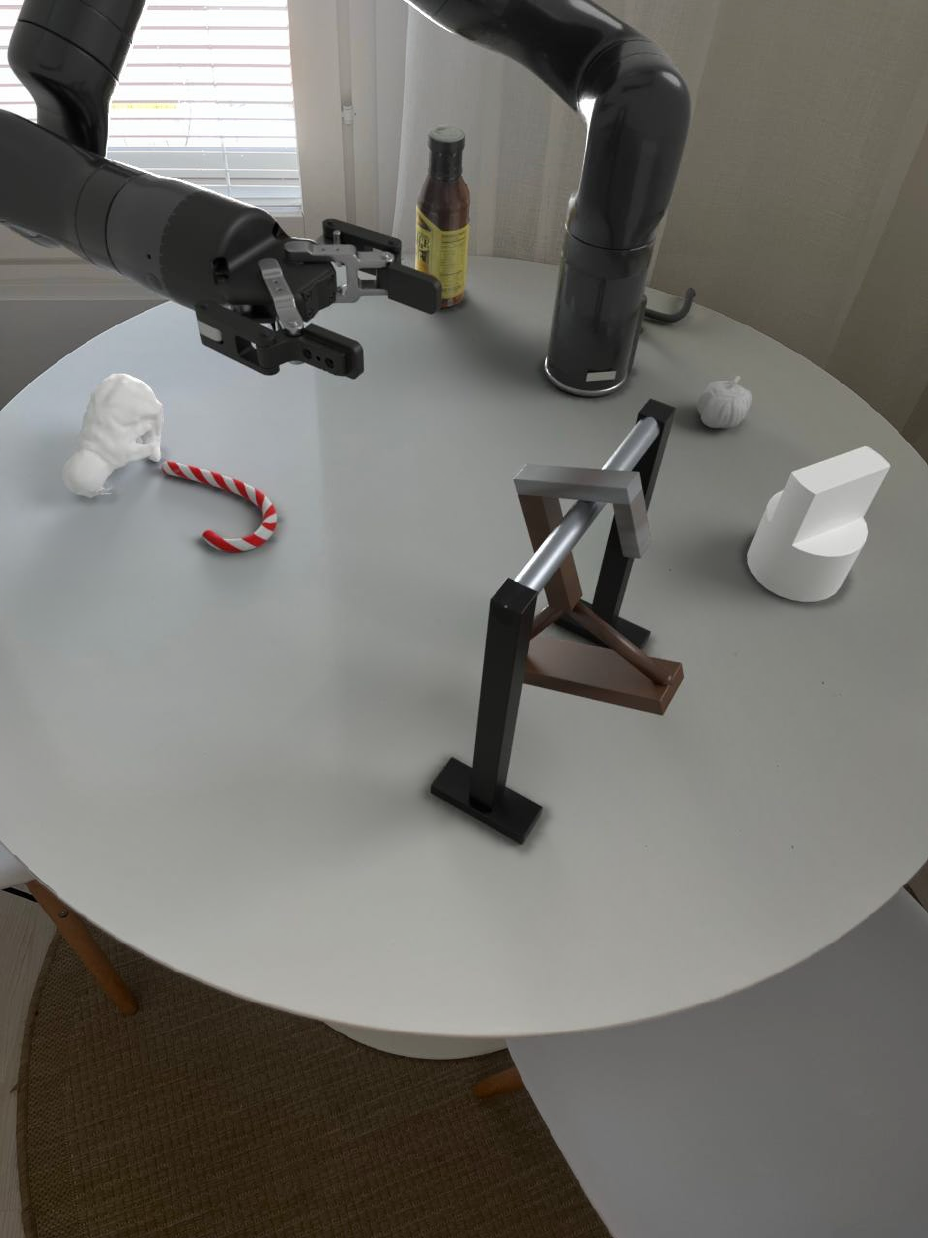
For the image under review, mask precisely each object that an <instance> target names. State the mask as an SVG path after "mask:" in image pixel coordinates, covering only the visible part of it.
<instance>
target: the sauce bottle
mask: <svg viewBox="0 0 928 1238" xmlns="http://www.w3.org/2000/svg"><path fill="white" fill-rule="evenodd" d="M426 142H427V144H426V145H427V148H428V166H427V171H426V173H425V177H424V178H423V179H424V180H423V182H422V185H421V187H420V189H419V190H420V191H419V192H418V193H419V194H418V196H417V199H416V204H415V205H416V207H415V248H414V249H415V261H414V262H415V266H414V267H415V268H414V269H416V270H418V271H420V272H424V273H425V274H429V275H432V276H434V277H435V278H437V279H438V280H439V281H440V282H441V285H442V302H441V308H450V307H454V306H456V305H458V304H460V303H461V302H462V300H463V297H464V295H465V290H466V283H467V268H468V267H467V265H468V253H469V252H468V251H469V236H470V220H471V218H470V207H471V194H470V190H469V186H468V184H467V183H466V182H465V180H464V178H463V175H462V174H463V153H464V149H465V148H466V147H465V146H466V134H465V132H464V130H463V129H462V128H461V127H457V126H455V125H451V124H440V125H436V126H433V127H432V128H431V129H429V130H428V132H427V141H426Z"/></svg>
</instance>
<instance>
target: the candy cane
mask: <svg viewBox="0 0 928 1238" xmlns="http://www.w3.org/2000/svg"><path fill="white" fill-rule="evenodd" d="M161 472H162V473H163V474H165V475H169V476H173V477H178V478H182V479H186V480H191V481H195V482H198V483H202V484H205V485H208V486H213V487H216V488H219V489H222V490H224V491H227V492H230V493H233V494H236V495H238V496H240V497H243V498H244V499H247V500H248V501H249V502H251V503H252V504H254V505H255V506H257V507H258V509H259V510H260V511H261V513H262V522H261V524H260V526H259V527H258V529H256V530H255V531H254V532H253V533H251V534H249V535H247V536H243V537H239V538H224V537H221V536H219V535H218V534H216V533H215V532H214V531H213V530H212V529H206V530H204V531H203V533H202V536H201V537H202V539H203V540H204V541H205V542H206V543H207V544H208V545H209V546H211V547H212V548H214V549H216V550H218V551H222V552H225V553H226V552H228V553H240V552H247V551H251V550H254V549H257V548H258V547H260V546H261V545H264V543H265V542H266V541H268V540H269V539H270V538H271V536H272V535H273V533H274V532H275V530H276V527H277V522H278V516H277V515H278V513H277V510H276V508H275V505H274V504H273V502H272V501H271V500H270V499H269V497H268V496H267V495H265V494H264V493H262V492H261V491H260V490H259V489H257V488H255V487H253V486H252V485H250V484H248V483H246V482H243V481H241V480H238V479H235V478H233V477H230V476H228V475H227V476H226V475H223V474H220V473H217V472H214V471H212V470H207V469H203V468H200V467H197V466H192V465H188V464H183V463H180V462H174V461H168V460H166V461H163V462H162V464H161Z"/></svg>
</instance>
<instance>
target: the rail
mask: <svg viewBox="0 0 928 1238" xmlns="http://www.w3.org/2000/svg"><path fill="white" fill-rule="evenodd" d="M676 411H677V407H674V406H672V405H669V404H666V403H664V402H661V401H659V400H656V399H653V398H649V399H647V401H646V403H644V404H643V406H642V407H641V408H640V410H639V411H638V413H637V418H636V421H635V423H634V426H633V428H632V429H631V431H630V432H629V433H628V434H627V436H626V437H625V438H624V439H623V441H622V442H621V444H619V446H618V447H617V449H615V450H614V452H613V454H612V455H611V456H610V457H609V459H608V460H607V461H606V463H605V464H604V465H603V466H602V468H601V469H605V470H619V471H633V472H639V473H640V479H641V484H642V489H643V495H644V500H645V506H646V511H647V513H648V512H649V508H650V504H651V502H652V497H653V494H654V490H655V488H656V483H657V480H658V476H659V473H660V468H661V465H662V462H663V459H664V455H665V450H666V447H667V444H668V440H669V437H670V433H671V429H672V426H673V422H674V420H675V415H676ZM607 504H608V503H604V502H593V501H583V500H575V502H574V503H573V504H572V506H570V509H569V510H568V511H567V512H566V514H565V515H563V519H562V520H561V521H560V522H559V524H558V525H557V526H556V528H555V529H554V530H553V531H552V533H551V534H550V535H549V536H548V538H547V539H546V540H545V542H544V543H543V544H542V545H541V547H540V548H539V549H538V550H537V552H536V553H535V554H534V553H533V555H532V557H531V558H530V559H529V561H528V562H527V563H526V564H525V565H524V566H523V568H522V570H521V571H519V573H518V574H517V576H516V577H515V578H514V579H512V578H510V577H506V578H505V580H504V581H503V582H502V584H501V585H500V586H499V587H498V589H496V591H495V593H494V594H493V595H492V596H491V597H490V599H489V607H488V617H487V627H486V634H485V643H484V644H485V646H484V656H483V662H482V663H483V664H482V672H481V673H482V674H481V681H480V682H481V683H480V690H479V691H480V692H479V702H478V708H477V709H478V710H477V719H476V728H475V737H474V747H473V756H472V766H469V764H468V765H467V764H465V763H464V762H463V761H460V760H458V759H457V758H455V757H454V756H450V758H449V759H448V760H447V762H446V763H445V764H444V766H443V767H442V768H441V770H440V772H439V773H438V774H437V776H436V777H435V779H433V781H432V783H431V784H430V794H432V795H433V796H435V797H437V798H439V799H440V800H441V801H444V802H445V803H448V804H449V805H450V806H453V807H455V808H456V809H458V810H460V811H461V812H463V813H465V814H467V815H469V816H470V817H472V818H474V819H476V820H478V821H479V822H480V823H482V824H484V825H486V826H488V827H490V828H491V829H493V830H495V831H497V832H498V833H500V834H502V835H504V836H505V837H507V838H509V839H510V840H513V841H514V842H516V843H518V844H520V845H522V846H523V845H524V844H525V842H526V841H527V838H529V835H530V834H531V832H532V831H533V829H534V827H536V824H537V822H538V821H539V819H540V817H541V816H542V814H543V809H544V808H543V806H542V805H540V804H538V803H536V802H535V801H533V800H531V799H529V798H528V797H526V796H524V795H522V794H520V793H519V792H516V791H515V790H514V789H512V788H510V787H508V786H506V785H507V779H508V773H509V767H510V762H511V755H512V751H513V745H514V738H515V732H516V726H517V720H518V714H519V710H520V709H519V708H520V702H521V696H522V691H523V685H524V683H523V679H524V673H525V667H526V662H527V656H528V650H529V644H530V638H531V632H532V626H533V620H534V617H535V614H536V613H535V612H536V607H537V601H538V596H539V595H540V593H541V592H542V591H543V590H544V587H545V585H546V584H547V583H548V581H549V580H550V579H551V577H552V576H553V575H554V573H555V572H556V571H557V569H558V568H559V567H560V565H561V564H562V563H563V561H564V560H565V559H566V557H567V556H568V555H569V553H570V552H571V551H572V552H573V550H574V548H575V547H576V546H577V545H578V543H579V542H580V540H581V539H582V537H583V536H584V535H585V533H586V532H587V531H588V530H589V528H590V527H591V526H592V524H593V523H594V521H595V520H596V519H597V518H598V516H599V515H600V514H601V512H602V511H603V510H604V508H605V507H606V505H607ZM635 559H636V558H631V557H624V556H623V552H622V548H621V543H620V538H619V533H618V528H617V524H616V519H615V514H614V513H613V516H612V520H611V523H610V528H609V532H608V537H607V541H606V545H605V549H604V554H603V558H602V561H601V565H600V571H599V575H598V579H597V582H596V587H595V591H594V594H593V599H592V603H591V602H589V601H586V600H585V599H582V598H580V600H579V601H580V602H581V603H582V604H584V605H585V606H586V607H587V608H589V609H590V610H591V611H592V612H594V613H595V614H596V615H597V616H599V617H600V618H601V619H602V620H604V621H605V622H606V623H607V624H609V625H610V626H611V627H612V628H614V629H615V630H616V631H617V632H619V633H620V634H621V635H622V636H624V637H625V638H626V639H627V640H629V641H630V642H631V643H632V644H634V645H635V646H636V647H637V648H639V649H640V650H641V651H642V652H643V649H644V647H645V646H646V644H647V643H648V642H649V640H650V636H651V633H652V631H651V630H649V629H647V628H644V627H643V626H640V625H638V624H636V623H633V622H632V621H630V620H627V619H626V618H623V617H621V616H619V615H620V613H621V609H622V605H623V601H624V597H625V594H626V591H627V586H628V583H629V579H630V576H631V572H632V569H633V565H634V562H635ZM552 624H553V625H556V626H558V627H560V628H562V629H563V630H566V631H569V632H570V633H572V634H574V635H577V636H579V637H581V638H583V639H585V640H587V641H589V642H591V643H593V644H596V646H599V647H603V648H608V649H611V648H610V647H609V646H608V645H606V644H605V643H604V642H603V641H601V640H600V639H599V638H598V637H596V636H595V635H594V634H593V633H591V632H590V631H589V630H588V629H586V628H585V627H584V626H583V625H581V624H580V623H579V622H578V621H576V620H575V619H574V618H573V617H571V616H570V615H569V614H568V613H565V614H563V615H562V616H561V617H560V618H558V619H557V620H556V621H555V622H553V623H552Z"/></svg>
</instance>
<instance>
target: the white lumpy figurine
mask: <svg viewBox="0 0 928 1238" xmlns="http://www.w3.org/2000/svg"><path fill="white" fill-rule="evenodd" d="M89 397H90V398H89V401H88V404H87V406H86V411H85V412H84V414H83V417H82V423H81V427H80V429H79V431H78V432H77V437H76V439H77V451H75V452H74V453H73V454H72V456H71V457H70V458H69V459H68V460H67V462H66V463H65V465H64V467H63V469H62V479H63V482H64V483H65V485H66V488H67V489H68V490H69V491H71V492H72V493H73V494H75V495H78V496H83V497H86V498H88V499H92V498H93V497H95V496H96V497H97V496H103V495H112V494H113V493H112V492H109V491H111V490H112V489H113V488H114V487H112V486H110V487H108V488H107V487H105V483H106V481H107V479H108V478H109V477H110V476H112V474H113V472H114V471H116V470H117V469H121V468H124V467H125V466H127V464H129V463H133V462H138V461H140V460H143V459H145V458H148V459H149V460H151V461H152V462H154V463H159V462H160V460H161V458H162V452H161V442H162V432H163V431H162V427H163V425H164V423H165V421H164V418H165V417H164V404H163V403H161V402H160V400H158V399H157V397H156V394H155V393H154V391H153V390H152V388H151V387H150V386H149V385H148V384H146V382H144V381H143V380H140V379H139V378H137V377H133V376H132V375H129V374H128V373H127V374H126V373H112V374H110V375H109V376H108V377H106V378H104V379H102V380H101V382H100V383H99V384H98V385H97V387H96V388H95V389H94V390H92V392H91V394H90V396H89ZM138 438H140V440H141V442H142V443H139V442H137V439H138Z"/></svg>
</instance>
